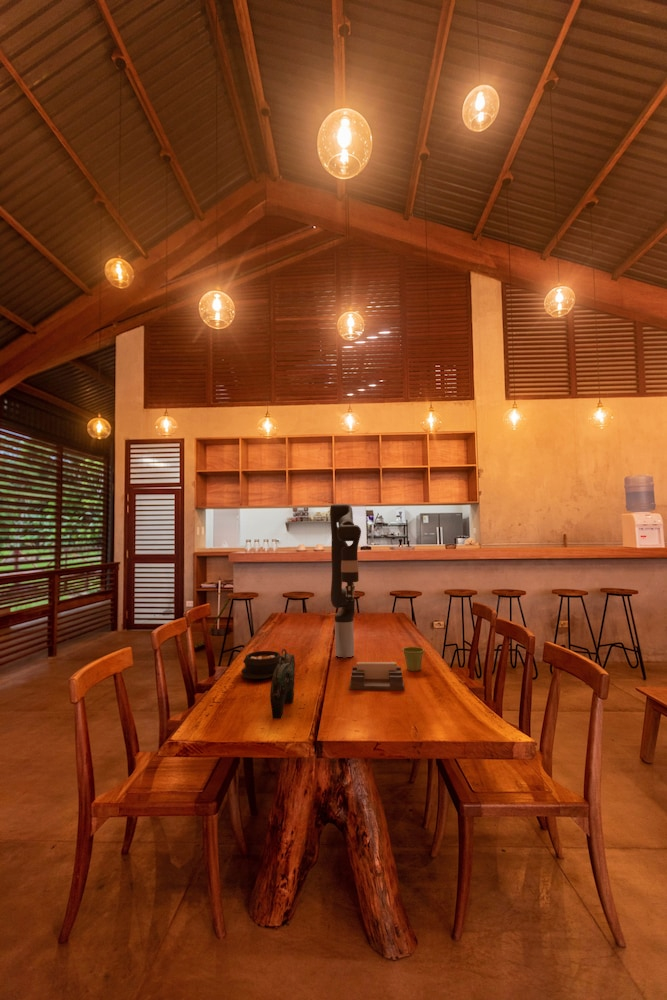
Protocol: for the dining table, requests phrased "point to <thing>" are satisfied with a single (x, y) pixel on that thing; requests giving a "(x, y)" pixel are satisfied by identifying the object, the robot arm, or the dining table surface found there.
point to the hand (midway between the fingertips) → (350, 608)
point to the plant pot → (413, 658)
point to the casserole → (260, 664)
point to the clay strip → (376, 669)
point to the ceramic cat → (282, 684)
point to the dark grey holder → (376, 681)
